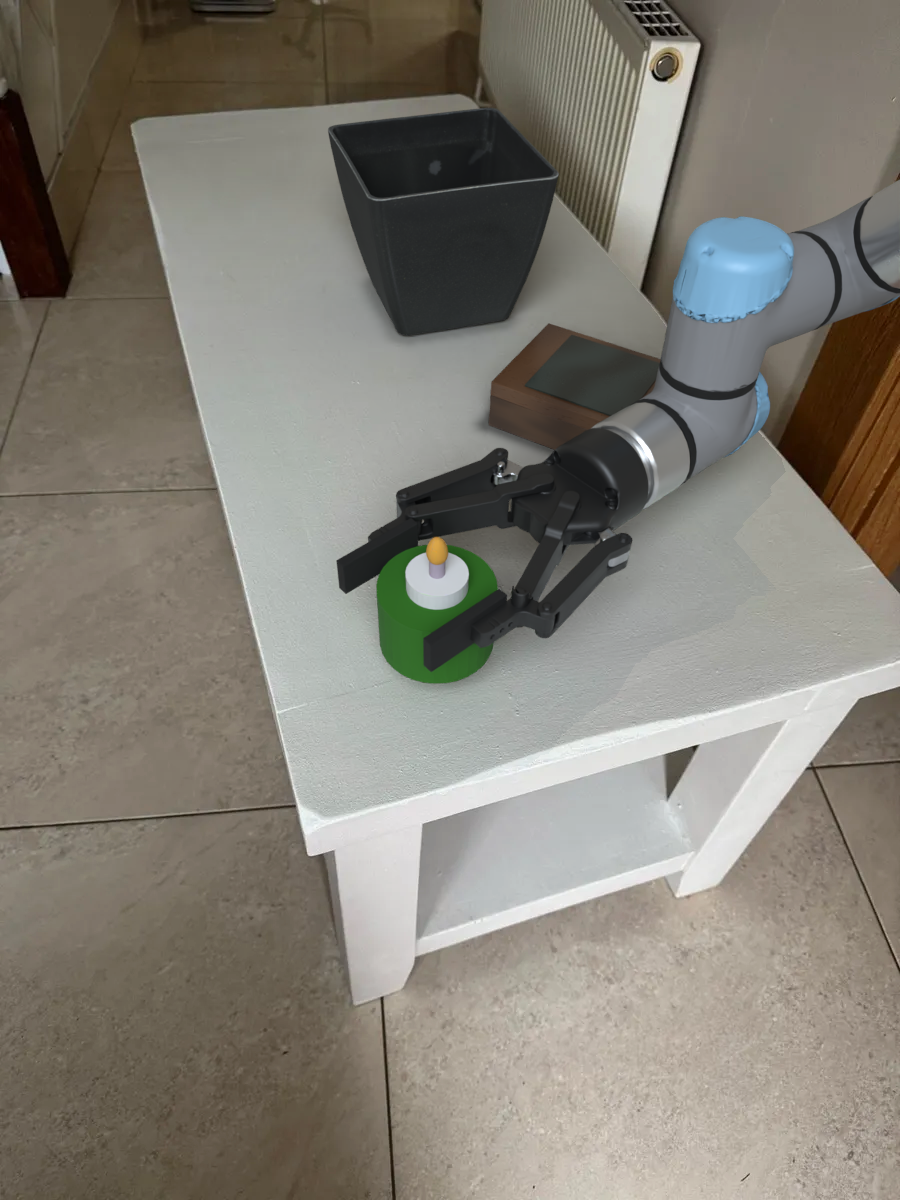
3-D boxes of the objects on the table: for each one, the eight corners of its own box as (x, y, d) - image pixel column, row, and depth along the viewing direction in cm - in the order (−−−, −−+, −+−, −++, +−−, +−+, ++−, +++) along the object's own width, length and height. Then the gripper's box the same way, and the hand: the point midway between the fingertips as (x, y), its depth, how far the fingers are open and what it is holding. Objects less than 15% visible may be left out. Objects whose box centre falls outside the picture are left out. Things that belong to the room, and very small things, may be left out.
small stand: (688, 414, 92) (700, 369, 88) (641, 482, 85) (651, 436, 81) (543, 365, 97) (548, 320, 93) (488, 425, 90) (491, 379, 86)
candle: (515, 629, 68) (525, 529, 61) (449, 703, 63) (452, 604, 56) (425, 580, 71) (424, 479, 64) (356, 647, 67) (346, 547, 59)
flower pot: (336, 272, 109) (324, 121, 97) (488, 250, 113) (496, 103, 101) (377, 359, 97) (370, 200, 85) (546, 332, 101) (562, 176, 89)
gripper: (714, 580, 69) (490, 750, 58) (515, 444, 79) (295, 568, 69) (739, 503, 63) (496, 676, 53) (521, 368, 74) (283, 490, 63)
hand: (382, 614), depth 61 cm, fingers closed on candle, 8 cm apart
